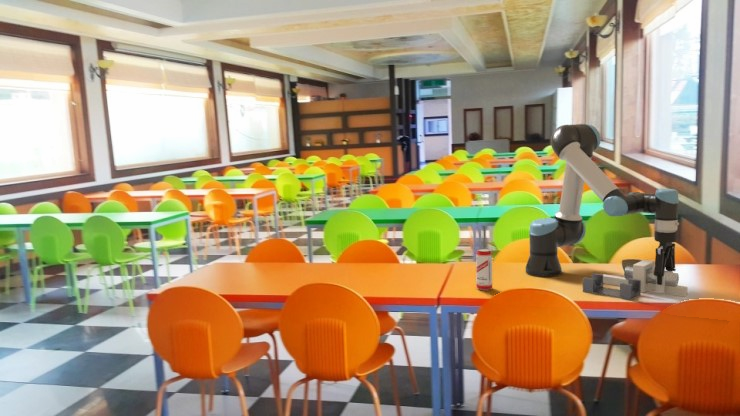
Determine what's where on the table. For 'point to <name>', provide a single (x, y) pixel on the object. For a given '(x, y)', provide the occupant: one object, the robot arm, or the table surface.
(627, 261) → the flower pot
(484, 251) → the beer can
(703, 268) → the table surface
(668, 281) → the axle
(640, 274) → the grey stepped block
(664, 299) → the table surface
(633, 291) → the v block
